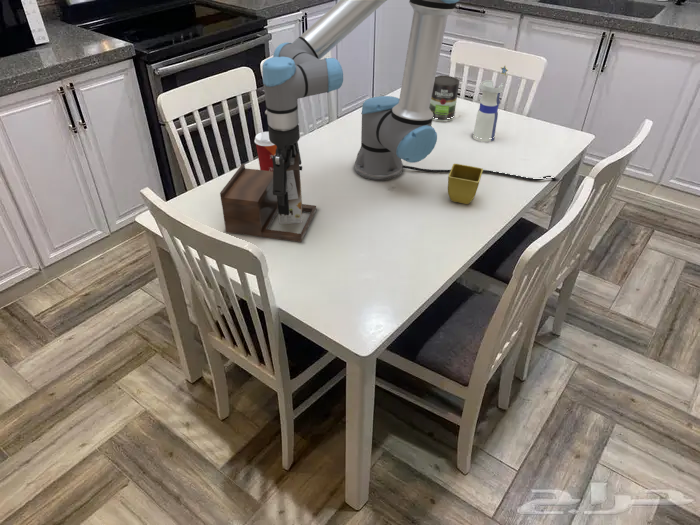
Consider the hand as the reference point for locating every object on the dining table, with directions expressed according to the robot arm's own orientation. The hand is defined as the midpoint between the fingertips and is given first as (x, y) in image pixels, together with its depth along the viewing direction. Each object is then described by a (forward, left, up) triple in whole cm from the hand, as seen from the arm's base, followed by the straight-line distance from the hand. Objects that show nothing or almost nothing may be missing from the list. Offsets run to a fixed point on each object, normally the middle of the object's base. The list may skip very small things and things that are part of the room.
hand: (289, 202), depth 144 cm
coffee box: (0, 0, -4) cm, 4 cm away
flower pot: (-46, -23, -7) cm, 51 cm away
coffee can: (-36, -83, -7) cm, 90 cm away
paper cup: (+13, -23, -7) cm, 27 cm away
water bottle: (-52, -68, -7) cm, 86 cm away
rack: (+6, 0, -6) cm, 9 cm away
